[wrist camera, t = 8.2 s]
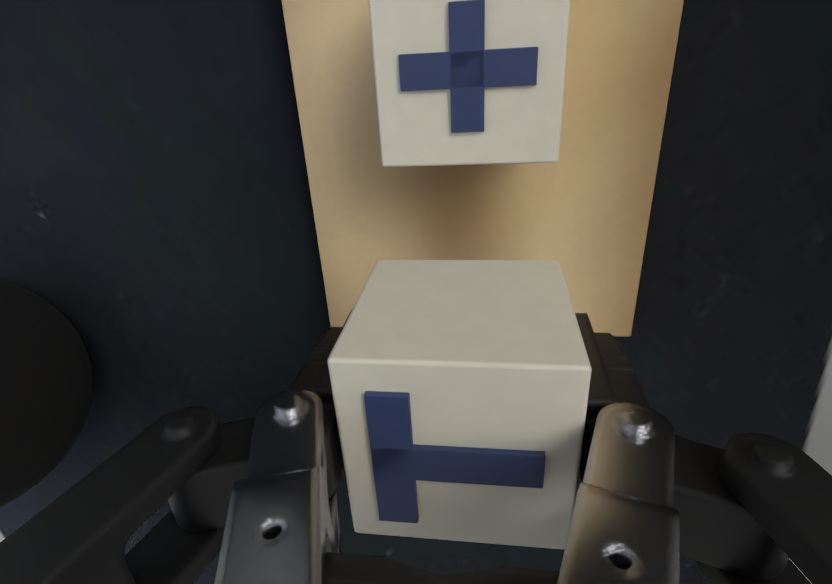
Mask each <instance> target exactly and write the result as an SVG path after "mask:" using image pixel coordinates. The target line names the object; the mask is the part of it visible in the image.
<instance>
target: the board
mask: <svg viewBox="0 0 832 584" xmlns="http://www.w3.org/2000/svg"><path fill="white" fill-rule="evenodd" d="M281 1H282V8H283V14H284V21H285V28H286V34H287V41H288V48H289V54H290V61H291V67H292V74H293V81H294V87H295V94H296V101H297V107H298V114H299V120H300V127H301V134H302V140H303V147H304V154H305V160H306V167H307V173H308V180H309V187H310V193H311V200H312V207H313V213H314V220H315V226H316V233H317V240H318V246H319V253H320V259H321V266H322V273H323V279H324V286H325V293H326V299H327V306H328V312H329V319H330V326H331V327H343V325H344V323H345V321H346V319H347V317H348V315H349V313H350V311H351V310H352V309H353V308H354V306H355V304H356V302H357V300H358V298H359V296H360V294H361V292H362V290H363V288H364V286H365V284H366V282H367V280H368V278H369V276H370V274H371V272H372V270H373V268H374V266H375V264H376V262H377V261H378V260H557V261H559V263H560V266H561V269H562V272H563V276H564V279H565V282H566V286H567V289H568V292H569V295H570V299H571V302H572V305H573V309H574V312H575V313H587V314H588V317H589V320H590V323H591V326H592V328H593V331H594V332H595V333H610V334H611V335H612V336H627V337H629V336H631V331H632V325H633V318H634V312H635V306H636V299H637V293H638V287H639V280H640V274H641V268H642V261H643V255H644V249H645V242H646V236H647V230H648V223H649V217H650V211H651V204H652V198H653V192H654V185H655V179H656V173H657V166H658V160H659V154H660V147H661V141H662V135H663V129H664V122H665V116H666V110H667V103H668V97H669V91H670V84H671V78H672V72H673V65H674V59H675V53H676V46H677V40H678V34H679V27H680V21H681V15H682V8H683V2H684V0H570V11H569V25H568V39H567V53H566V67H565V81H564V95H563V110H562V124H561V138H560V152H559V160H558V162H556V163H528V164H489V165H449V166H409V167H384V166H383V165H382V158H381V146H380V135H379V123H378V111H377V99H376V87H375V75H374V64H373V52H372V40H371V28H370V16H369V4H368V0H281Z"/></svg>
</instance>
